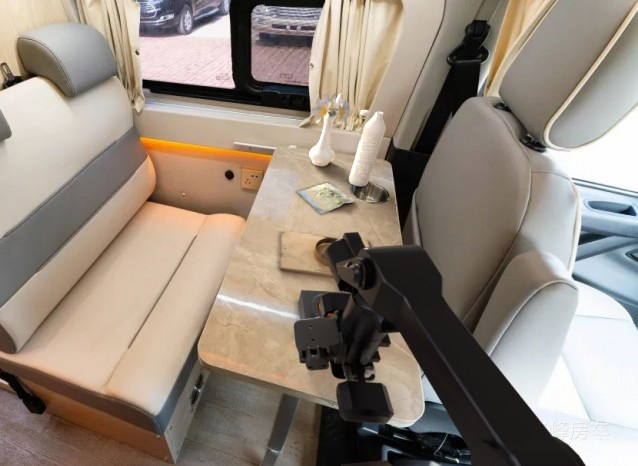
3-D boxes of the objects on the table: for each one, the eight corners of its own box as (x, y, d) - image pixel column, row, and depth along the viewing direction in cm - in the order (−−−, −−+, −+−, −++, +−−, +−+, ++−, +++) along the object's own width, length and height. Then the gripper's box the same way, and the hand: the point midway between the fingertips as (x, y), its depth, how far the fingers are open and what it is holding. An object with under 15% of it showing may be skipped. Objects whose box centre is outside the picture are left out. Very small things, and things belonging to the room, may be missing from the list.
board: (368, 240, 94) (372, 232, 92) (379, 281, 83) (383, 273, 80) (280, 232, 97) (282, 224, 94) (279, 271, 85) (281, 262, 83)
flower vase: (338, 153, 132) (355, 89, 115) (334, 176, 119) (351, 107, 103) (306, 148, 136) (317, 85, 119) (298, 170, 123) (309, 102, 106)
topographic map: (328, 182, 116) (329, 178, 115) (354, 202, 107) (356, 198, 106) (296, 193, 113) (296, 189, 112) (321, 214, 103) (321, 210, 102)
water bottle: (366, 178, 118) (389, 109, 102) (368, 187, 114) (392, 117, 97) (341, 175, 120) (360, 106, 103) (342, 184, 115) (361, 114, 99)
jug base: (351, 352, 69) (361, 334, 64) (303, 349, 69) (309, 331, 64) (340, 305, 77) (347, 286, 73) (297, 302, 78) (302, 284, 73)
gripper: (296, 265, 50) (283, 322, 60) (312, 390, 36) (292, 436, 46) (370, 268, 49) (345, 325, 60) (416, 397, 35) (373, 442, 46)
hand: (338, 375), depth 53 cm, fingers closed
